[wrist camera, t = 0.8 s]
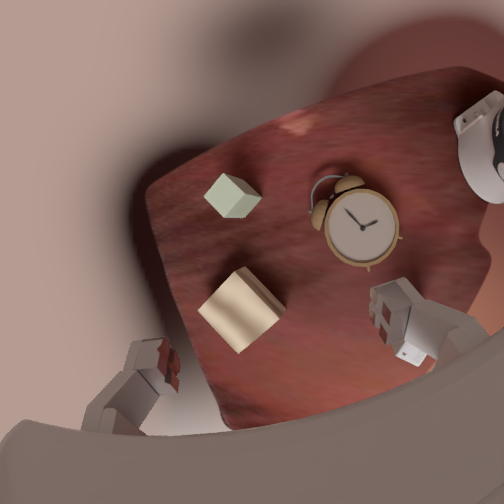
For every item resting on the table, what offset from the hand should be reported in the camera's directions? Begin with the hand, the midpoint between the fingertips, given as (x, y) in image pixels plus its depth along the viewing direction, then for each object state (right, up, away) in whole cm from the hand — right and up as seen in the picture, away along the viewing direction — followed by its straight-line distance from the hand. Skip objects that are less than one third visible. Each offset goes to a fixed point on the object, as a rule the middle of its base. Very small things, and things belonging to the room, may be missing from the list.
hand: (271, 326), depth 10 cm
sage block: (-2, +12, +35) cm, 37 cm away
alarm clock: (+15, +8, +30) cm, 35 cm away
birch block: (-2, -7, +38) cm, 38 cm away
